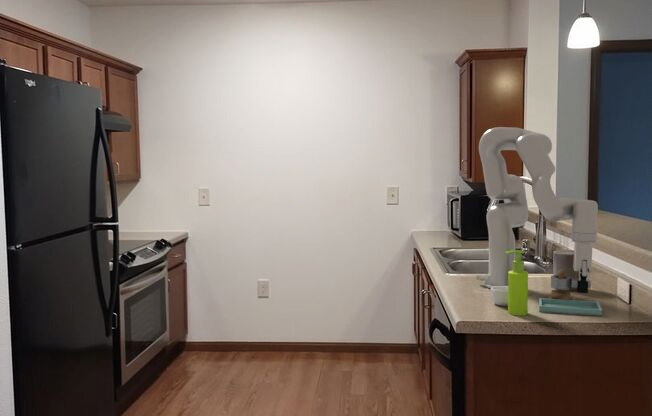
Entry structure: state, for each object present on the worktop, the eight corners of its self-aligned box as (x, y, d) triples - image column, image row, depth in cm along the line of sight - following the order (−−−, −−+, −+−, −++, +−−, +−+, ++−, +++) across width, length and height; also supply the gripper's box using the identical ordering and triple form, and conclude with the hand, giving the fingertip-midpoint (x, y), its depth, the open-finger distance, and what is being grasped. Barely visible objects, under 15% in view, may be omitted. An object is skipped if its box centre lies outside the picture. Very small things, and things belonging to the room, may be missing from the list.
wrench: (551, 288, 189) (551, 278, 189) (550, 284, 195) (550, 274, 195) (591, 291, 185) (591, 280, 185) (589, 286, 191) (589, 276, 191)
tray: (539, 311, 180) (539, 305, 180) (538, 303, 190) (539, 298, 190) (601, 316, 174) (602, 310, 174) (598, 307, 184) (598, 301, 183)
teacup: (519, 306, 187) (519, 290, 186) (497, 308, 185) (498, 291, 185) (504, 299, 197) (504, 283, 196) (483, 300, 195) (483, 285, 195)
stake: (548, 303, 189) (549, 271, 188) (547, 298, 197) (548, 266, 196) (574, 305, 187) (575, 272, 186) (572, 299, 194) (573, 268, 193)
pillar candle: (583, 287, 212) (583, 247, 211) (578, 292, 204) (578, 251, 203) (555, 284, 217) (556, 245, 216) (550, 289, 209) (550, 249, 208)
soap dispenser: (501, 311, 182) (502, 249, 180) (522, 310, 182) (523, 248, 180) (509, 316, 176) (509, 252, 174) (530, 315, 176) (531, 251, 175)
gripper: (570, 233, 196) (568, 285, 198) (573, 240, 181) (571, 296, 183) (593, 234, 194) (591, 287, 196) (599, 241, 179) (597, 298, 181)
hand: (582, 291), depth 189 cm, fingers closed on wrench, 2 cm apart
